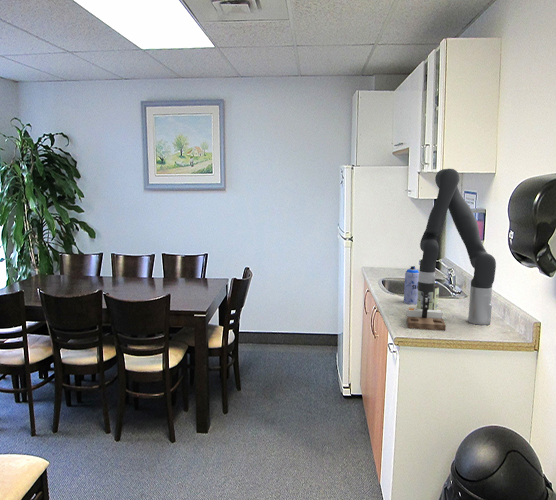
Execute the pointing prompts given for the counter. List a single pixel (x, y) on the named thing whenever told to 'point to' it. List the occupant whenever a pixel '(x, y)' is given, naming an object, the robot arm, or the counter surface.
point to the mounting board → (426, 323)
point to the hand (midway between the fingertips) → (423, 315)
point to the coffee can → (433, 299)
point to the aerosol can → (411, 286)
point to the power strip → (430, 313)
